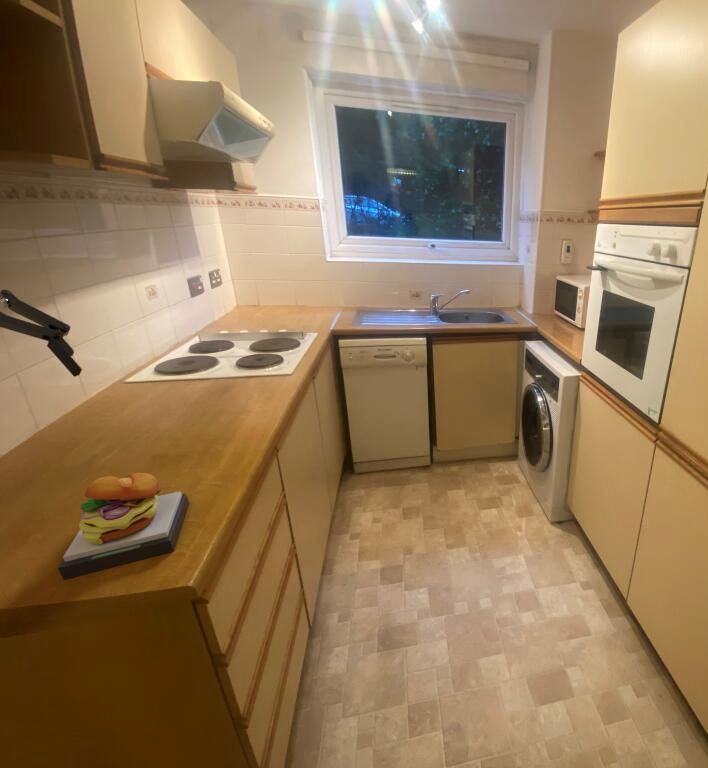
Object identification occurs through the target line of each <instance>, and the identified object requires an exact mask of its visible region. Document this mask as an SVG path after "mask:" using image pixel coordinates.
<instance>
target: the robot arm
mask: <svg viewBox="0 0 708 768" xmlns="http://www.w3.org/2000/svg"><path fill="white" fill-rule="evenodd" d="M0 307H1V308H4V309H6V308H8V309H9V310H10V311H11V312H13V313H16V314H17V315H19V316H20V317H21V316H22V317H24V318H26V319H27V320H29V321H26V320H24V319H21V318H18V317H14V316H10V315H8V314H5V312H3V311H0V328H2V329H5V330H9V331H11V332H12V331H13V332H16V333H19V334H22V335H25V336H29V337H33V338H37V339H39V340H43V341H46V342H47V345H46V347H47V348H48V349H49V350H50V351H51V352H52V354H53V355H54V356H55V357H56V358H57V359H58V360H59V361H60V363H61V364H62V365H63V366H64V367H65V368H66V369H67V371H68V372H69V373H70V374H71V375H72V376H73V377H74V378H76V377H79V376H80V374H81V372H82V371H83V368H82V367H81V366H80V365H79V364H78V362H76V360H75V359H74V358H73V356H74V353H75V351H74V349H73V347H71V345H70V344H69V343H68V342H67V341H66V340H65V338H64V337H66V336H68V335H69V333H70V331H71V326H70V324H68V323H66V322H63V321H62V320H60V319H58V318H56V317H54V316H52V315H51V314H49V313H46V312H44V311H43V310H40V309H38V308H37V307H35V306H32V305H30V304H29V303H27V302H25V301H23V300H21V299H19V297H17V296H16V295H15V294H14V293H13V292H12V291H11V290H9V289H1V290H0ZM30 321H32V322H30ZM33 322H34V323H33Z"/></svg>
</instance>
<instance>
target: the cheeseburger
mask: <svg viewBox="0 0 708 768" xmlns="http://www.w3.org/2000/svg"><path fill="white" fill-rule="evenodd" d="M162 492H163V491H162V489H160V484H159V481H158V479H157V478H156V477H155V476H154V475H153V474H150V473H147V472H133V473H131V474H129V475H127V476H125V477H122V478H118V477H117V476H112V475H110V476H109V475H108V476H102V477H99V478H97V479H95V480H93V481H92V483H91V484H90V485H89V486H88V487H87V489H86V491H85V493H84V497H85V498H87V499H86V501H82V502H81V504H80V510H81V511H82V512H81V513H80V514H79V519H80V521H79V523H78V528H79V530H80V529H81V530H82V531H83V534H84V538H85V540H86V541H87V542H90V543H92V544H95V545H100V544H102V543H103V541H108V540H112V539H116V538H119V537H122V536H125V535H127V534H130V533H133V532H135V531H137V530H139V529H142V528H144V527H145V526H147V525H148V524H149V523H150V522H152V521H153V519H154V517H155V515H156V509H157V502H156V501H157V496H159V494H160V493H162Z"/></svg>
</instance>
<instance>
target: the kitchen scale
mask: <svg viewBox="0 0 708 768" xmlns="http://www.w3.org/2000/svg"><path fill="white" fill-rule="evenodd" d="M187 495H188V494H187V493H182V491H175V492H170V493H167V494H162V495H157V501H156V502H157V509H156V515H155V517H154V519H153V521H152V522H150V523H149V524H148V525H147V526H145V527H144V528H142V529H139V530H137V531H135V532H133V533H130V534H127V535H125V536H122V537H119V538H116V539H112V540H108V541H103V543H102V544H100V545H95V544H92V543H90V542H87V541H86V540H85V538H84V534H83V531H82V530H81V529H80V528H79V530H78V532H77V534H76V536H75V537H74V539H73V540H72V542H71V543H70V545H69V547H68V548H67V550H66V551H65V552H64V554H63V556H62V561H61V562H60V564H59V565H58V567H57V570H58V571H59V573H60V576H61V577H62V579H63V580H68V579H73V578H76V577H80V576H84V575H89V574H91V573H97V572H99V571H103V570H108V569H112V568H115V567H118V566H124V565H128V564H131V563H135V562H139V561H143V560H146V559H149V558H153V557H158V556H162V555H165V554H169V553H173V552H174V551H175V549H176V547H177V542H178V539H179V537H180V535H181V534H180V533H181V531H182V527H183V524H184V522H185V519H186V515H187V512H188V509H189V506H190V501H189V498H188V496H187Z"/></svg>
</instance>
